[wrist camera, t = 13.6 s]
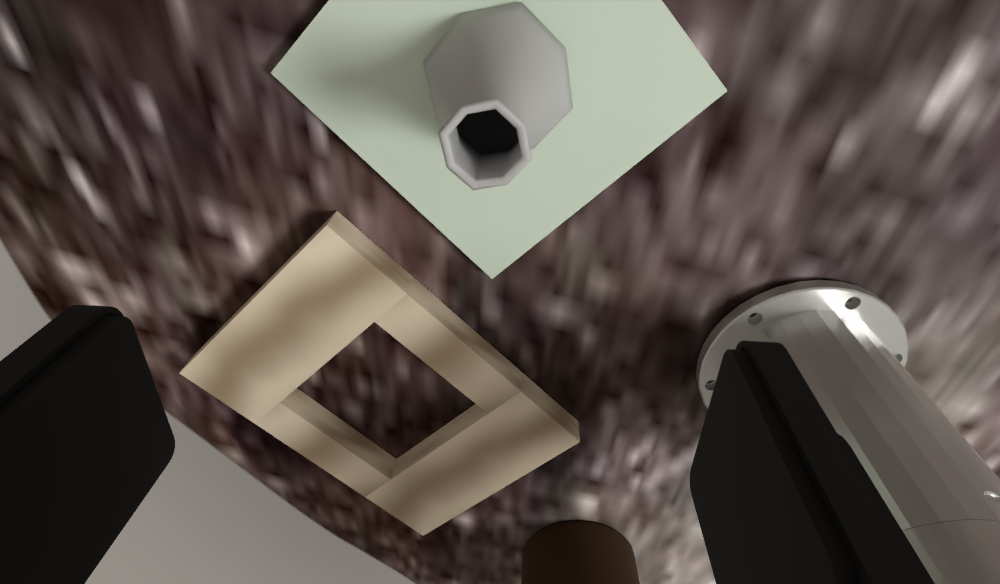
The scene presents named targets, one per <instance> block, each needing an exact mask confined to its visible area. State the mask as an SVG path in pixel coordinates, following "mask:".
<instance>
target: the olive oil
mask: <svg viewBox="0 0 1000 584" xmlns="http://www.w3.org/2000/svg"><path fill="white" fill-rule="evenodd" d="M521 584H640V583H639V578H638V573H637V568H636V562H635V557H634V553H633V549H632V547H631V545H630V543H629V542H628V540H627V539H626V538H625V537H624V536H623V535H622V534H620V533H619V532H617V531H616V530H614V529H612V528H610V527H607V526H605V525H602V524H598V523H593V522H586V521H570V522H563V523H558V524H554V525H551V526H549V527H546V528H544V529H542V530H541V531H539V532H537V533H536V534H535V535H534V536H532V537H531V538H530V540H529V541H528V542H527V544H526V546H525V548H524V552H523V562H522V583H521Z"/></svg>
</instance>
